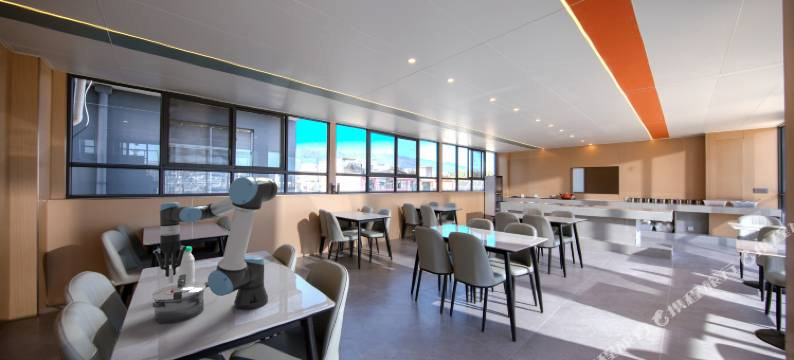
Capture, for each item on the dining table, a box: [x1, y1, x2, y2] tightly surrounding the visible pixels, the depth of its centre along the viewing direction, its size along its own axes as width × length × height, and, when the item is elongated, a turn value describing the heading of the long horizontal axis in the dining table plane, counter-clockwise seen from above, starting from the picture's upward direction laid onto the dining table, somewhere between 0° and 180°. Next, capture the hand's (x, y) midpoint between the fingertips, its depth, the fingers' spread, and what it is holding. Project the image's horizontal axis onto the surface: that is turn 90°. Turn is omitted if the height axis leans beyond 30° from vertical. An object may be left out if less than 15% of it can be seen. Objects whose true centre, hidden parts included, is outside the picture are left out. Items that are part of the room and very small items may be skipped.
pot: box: [152, 281, 209, 325], centre depth 136 cm, size 26×19×10 cm
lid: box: [151, 274, 207, 301], centre depth 136 cm, size 28×20×4 cm
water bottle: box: [178, 245, 196, 283], centre depth 161 cm, size 7×7×25 cm
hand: (170, 282), depth 141 cm, fingers closed
